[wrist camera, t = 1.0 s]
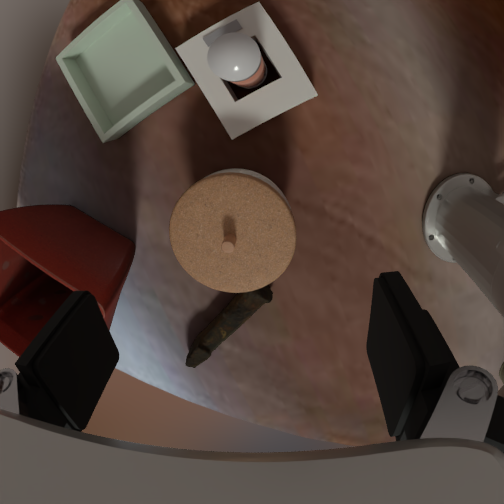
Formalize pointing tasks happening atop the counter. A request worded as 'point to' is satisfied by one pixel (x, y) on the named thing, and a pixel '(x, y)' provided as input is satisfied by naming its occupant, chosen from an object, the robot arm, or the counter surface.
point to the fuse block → (262, 100)
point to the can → (502, 373)
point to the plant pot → (55, 267)
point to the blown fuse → (237, 60)
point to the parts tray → (122, 69)
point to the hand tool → (227, 324)
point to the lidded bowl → (233, 231)
